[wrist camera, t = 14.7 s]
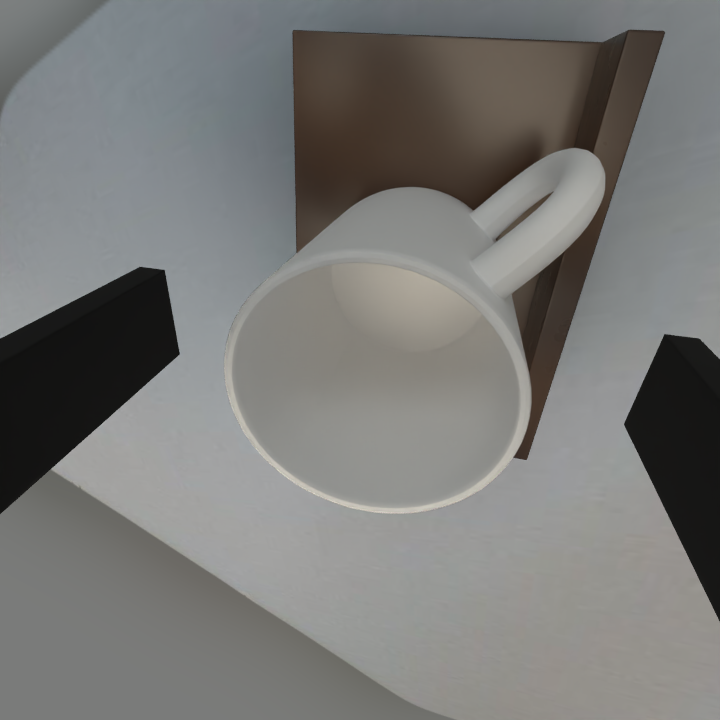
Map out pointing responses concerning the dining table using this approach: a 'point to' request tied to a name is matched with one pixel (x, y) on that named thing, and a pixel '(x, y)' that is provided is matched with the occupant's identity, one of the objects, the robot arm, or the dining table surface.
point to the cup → (404, 340)
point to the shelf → (466, 139)
